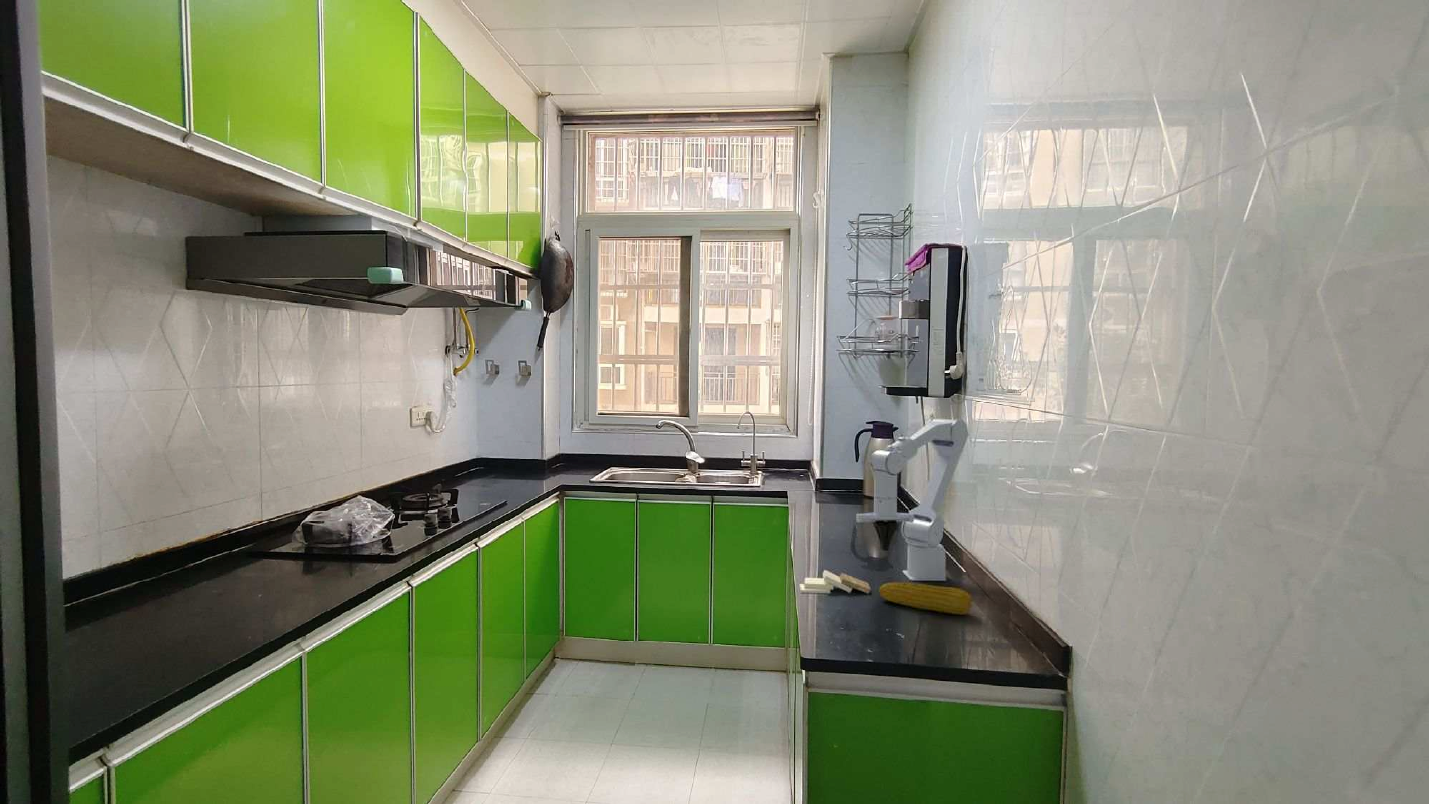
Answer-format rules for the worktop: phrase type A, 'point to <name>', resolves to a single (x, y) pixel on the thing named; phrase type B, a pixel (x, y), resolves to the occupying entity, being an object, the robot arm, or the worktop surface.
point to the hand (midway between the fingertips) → (884, 549)
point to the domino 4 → (854, 583)
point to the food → (928, 597)
